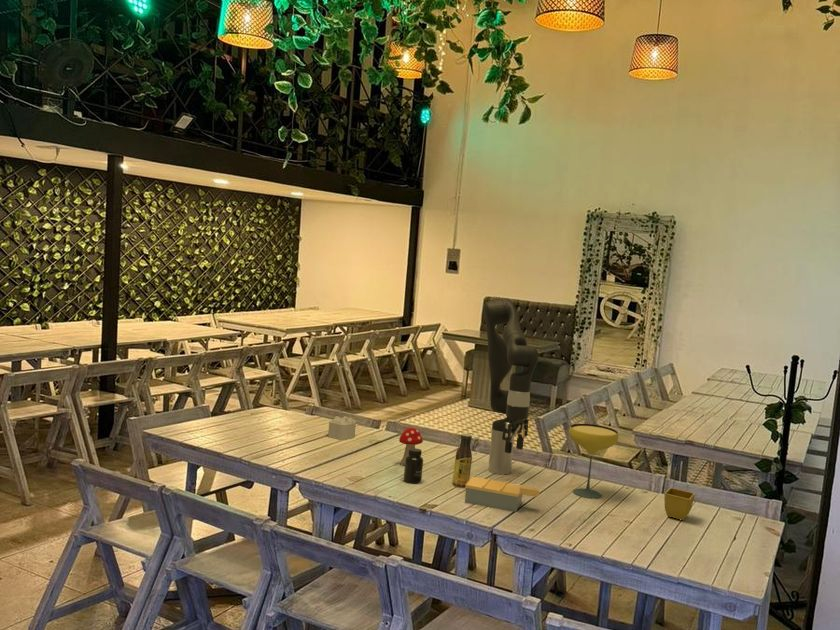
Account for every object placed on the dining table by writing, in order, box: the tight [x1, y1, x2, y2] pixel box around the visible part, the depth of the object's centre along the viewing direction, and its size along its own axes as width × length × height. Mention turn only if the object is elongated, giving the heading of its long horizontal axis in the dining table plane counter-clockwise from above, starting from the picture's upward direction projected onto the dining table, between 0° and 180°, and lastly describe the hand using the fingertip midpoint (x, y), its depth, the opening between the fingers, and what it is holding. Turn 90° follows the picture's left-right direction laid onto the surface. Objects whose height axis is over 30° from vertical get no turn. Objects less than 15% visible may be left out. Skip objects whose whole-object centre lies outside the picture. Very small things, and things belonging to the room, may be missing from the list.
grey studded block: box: [327, 415, 357, 441], centre depth 331 cm, size 10×13×9 cm
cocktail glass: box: [568, 423, 619, 499], centre depth 276 cm, size 18×18×25 cm
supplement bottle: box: [403, 447, 424, 484], centre depth 274 cm, size 7×7×12 cm
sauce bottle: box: [452, 433, 473, 489], centre depth 271 cm, size 6×6×20 cm
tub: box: [464, 488, 523, 513], centre depth 255 cm, size 10×18×6 cm, turn 73°
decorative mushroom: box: [398, 427, 424, 466], centre depth 295 cm, size 10×9×15 cm
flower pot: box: [663, 487, 696, 521], centre depth 258 cm, size 9×9×9 cm
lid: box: [465, 476, 541, 498], centre depth 254 cm, size 11×25×2 cm, turn 73°
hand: (513, 450), depth 248 cm, fingers open, 8 cm apart
